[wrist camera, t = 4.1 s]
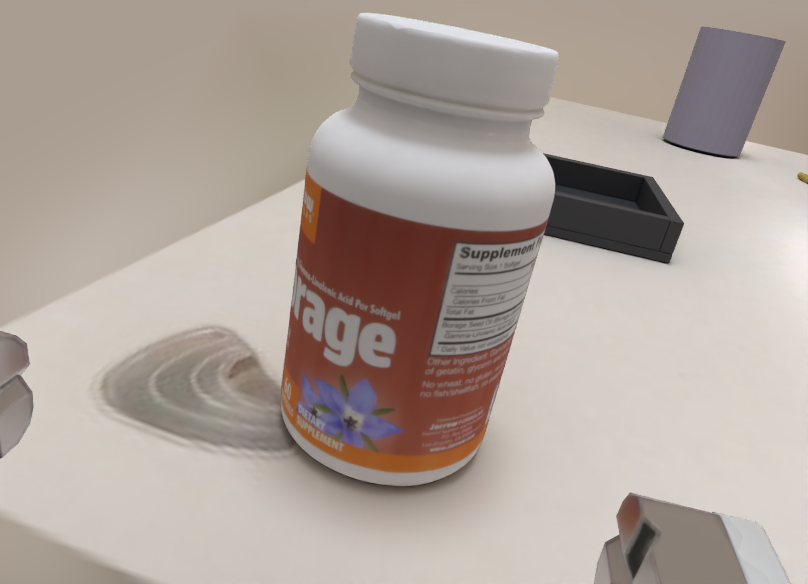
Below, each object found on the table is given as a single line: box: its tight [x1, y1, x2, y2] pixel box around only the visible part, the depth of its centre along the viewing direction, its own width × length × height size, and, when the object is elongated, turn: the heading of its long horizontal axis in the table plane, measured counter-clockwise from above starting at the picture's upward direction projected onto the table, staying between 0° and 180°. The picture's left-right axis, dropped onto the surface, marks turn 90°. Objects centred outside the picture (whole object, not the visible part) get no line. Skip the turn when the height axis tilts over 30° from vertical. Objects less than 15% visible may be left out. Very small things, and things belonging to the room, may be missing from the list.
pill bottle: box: [281, 13, 559, 486], centre depth 17 cm, size 6×6×11 cm
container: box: [663, 27, 785, 158], centre depth 84 cm, size 10×10×15 cm
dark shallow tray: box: [543, 153, 684, 263], centre depth 44 cm, size 13×13×3 cm
